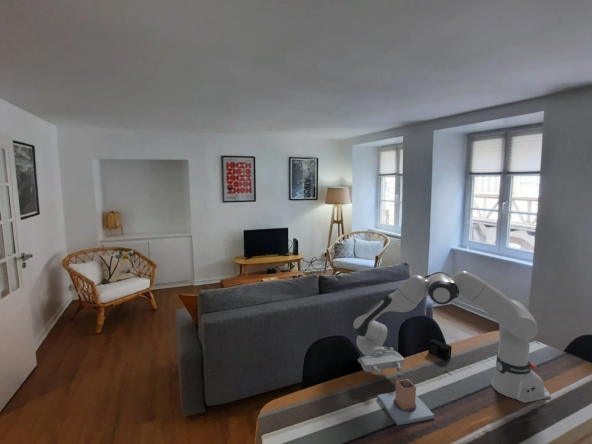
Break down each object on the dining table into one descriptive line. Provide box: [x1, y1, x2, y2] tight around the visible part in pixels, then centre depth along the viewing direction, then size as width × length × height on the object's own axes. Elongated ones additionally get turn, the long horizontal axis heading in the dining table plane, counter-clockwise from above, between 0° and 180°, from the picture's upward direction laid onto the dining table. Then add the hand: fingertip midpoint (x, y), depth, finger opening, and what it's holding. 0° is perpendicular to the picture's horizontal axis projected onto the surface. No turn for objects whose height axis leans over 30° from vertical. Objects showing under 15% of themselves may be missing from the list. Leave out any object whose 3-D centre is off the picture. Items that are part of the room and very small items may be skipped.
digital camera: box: [427, 338, 452, 362], centre depth 175 cm, size 10×5×7 cm, turn 38°
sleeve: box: [395, 378, 417, 410], centre depth 135 cm, size 6×6×9 cm
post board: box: [377, 379, 435, 426], centre depth 135 cm, size 16×16×12 cm
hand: (390, 371), depth 146 cm, fingers open, 8 cm apart
